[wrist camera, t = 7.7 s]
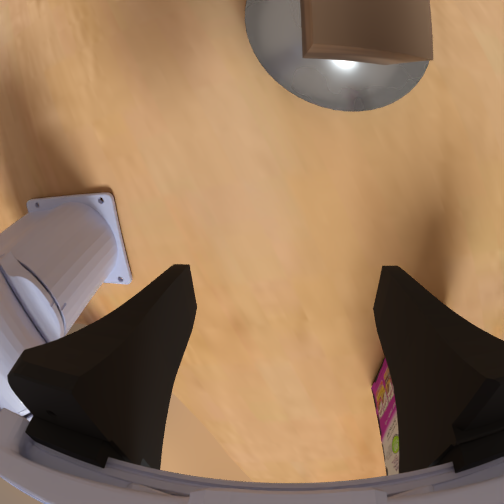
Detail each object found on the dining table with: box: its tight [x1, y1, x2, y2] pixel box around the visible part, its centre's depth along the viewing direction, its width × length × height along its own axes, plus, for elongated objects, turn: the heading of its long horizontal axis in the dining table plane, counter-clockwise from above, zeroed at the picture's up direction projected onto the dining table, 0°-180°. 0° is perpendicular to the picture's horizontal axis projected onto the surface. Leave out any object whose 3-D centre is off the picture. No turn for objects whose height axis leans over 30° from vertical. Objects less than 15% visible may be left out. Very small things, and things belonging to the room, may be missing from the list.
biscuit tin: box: [245, 0, 429, 111], centre depth 14 cm, size 10×10×3 cm
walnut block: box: [300, 0, 433, 65], centre depth 10 cm, size 4×4×6 cm
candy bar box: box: [371, 358, 399, 476], centre depth 20 cm, size 11×5×16 cm, turn 0°
